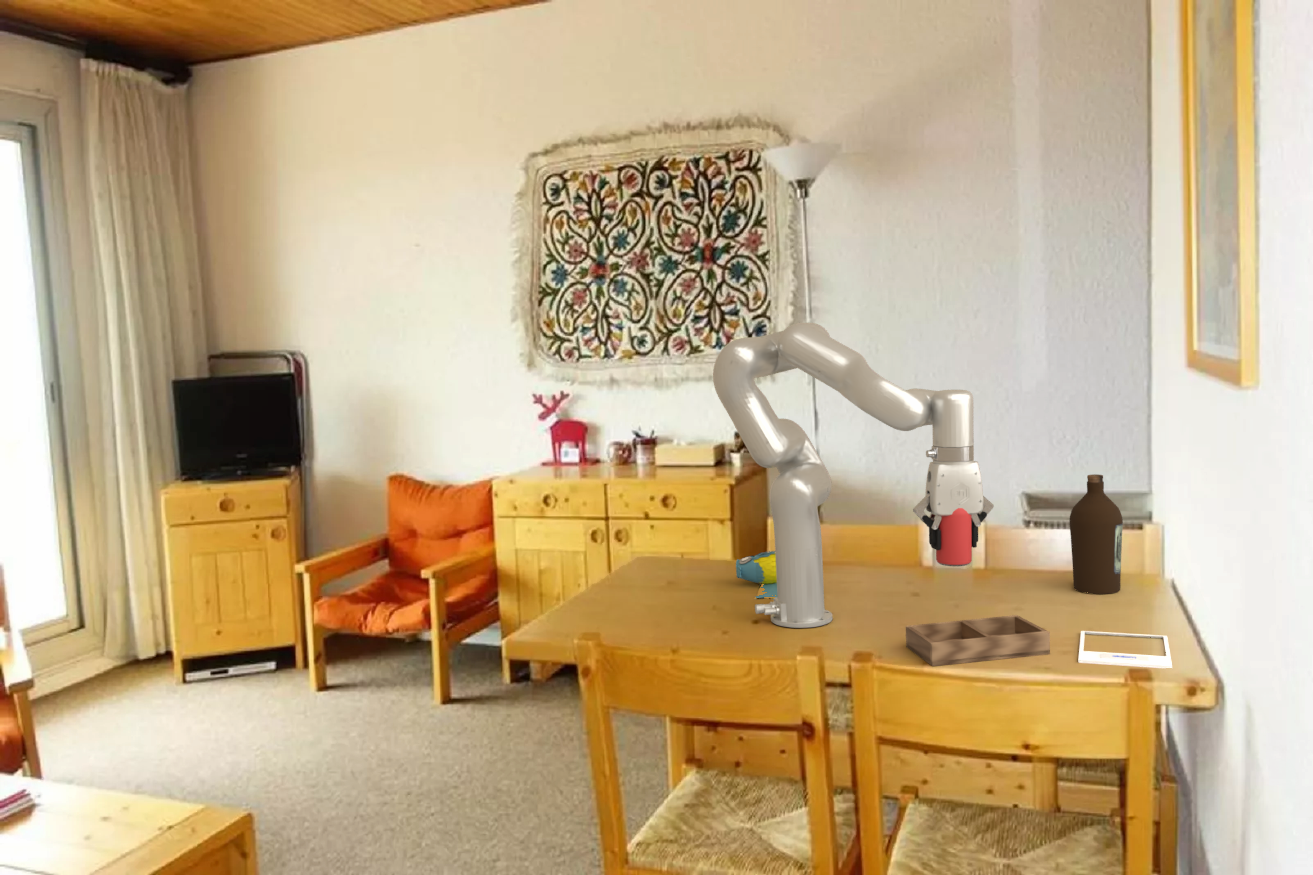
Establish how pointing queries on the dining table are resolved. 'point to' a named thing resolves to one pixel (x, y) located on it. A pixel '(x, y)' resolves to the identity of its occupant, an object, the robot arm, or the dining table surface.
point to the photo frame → (1124, 658)
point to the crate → (977, 640)
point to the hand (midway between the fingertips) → (953, 546)
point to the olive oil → (1096, 541)
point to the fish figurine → (759, 571)
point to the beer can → (955, 539)
